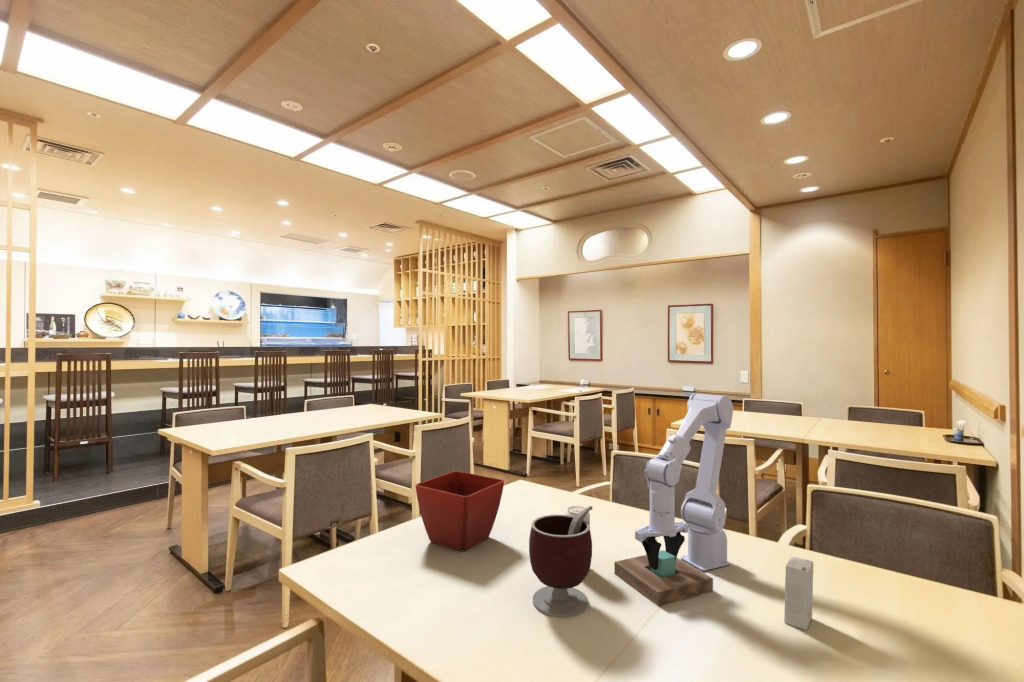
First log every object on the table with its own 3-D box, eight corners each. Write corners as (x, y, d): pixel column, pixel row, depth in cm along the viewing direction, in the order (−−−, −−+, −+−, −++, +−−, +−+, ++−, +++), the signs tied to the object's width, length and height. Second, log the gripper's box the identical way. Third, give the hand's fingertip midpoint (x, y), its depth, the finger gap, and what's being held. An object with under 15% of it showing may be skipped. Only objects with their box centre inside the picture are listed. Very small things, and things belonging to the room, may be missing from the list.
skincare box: (789, 610, 103) (789, 554, 103) (813, 618, 100) (813, 560, 100) (783, 623, 98) (783, 564, 98) (808, 632, 95) (808, 571, 95)
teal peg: (663, 578, 117) (663, 550, 117) (675, 586, 114) (675, 556, 114) (650, 582, 116) (650, 552, 116) (662, 589, 112) (661, 559, 112)
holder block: (665, 562, 125) (665, 550, 125) (713, 591, 111) (713, 578, 111) (614, 573, 119) (614, 561, 119) (658, 606, 104) (658, 592, 104)
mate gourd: (550, 627, 97) (550, 527, 97) (517, 595, 109) (518, 507, 109) (611, 607, 104) (611, 515, 104) (574, 579, 116) (574, 497, 116)
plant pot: (505, 536, 142) (505, 479, 143) (466, 560, 126) (466, 496, 126) (455, 522, 153) (455, 470, 153) (413, 544, 137) (413, 484, 137)
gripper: (648, 519, 108) (648, 579, 108) (697, 510, 114) (697, 567, 114) (629, 509, 115) (629, 566, 115) (676, 501, 121) (676, 555, 121)
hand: (661, 565), depth 115 cm, fingers open, 5 cm apart
